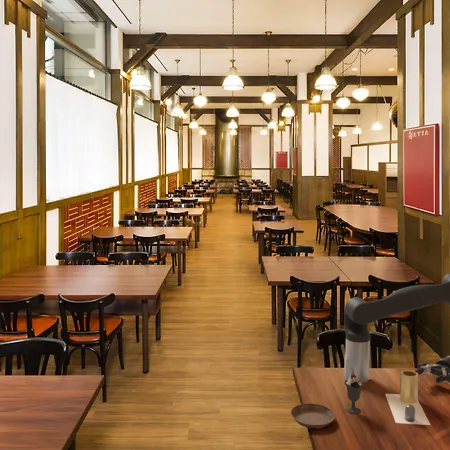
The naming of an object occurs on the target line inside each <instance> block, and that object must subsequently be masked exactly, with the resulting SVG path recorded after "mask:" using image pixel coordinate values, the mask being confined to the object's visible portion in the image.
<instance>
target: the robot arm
mask: <svg viewBox="0 0 450 450" xmlns="http://www.w3.org/2000/svg"><path fill="white" fill-rule="evenodd" d="M443 302H448V304H449V305H448V306H450V272H447V274H445V275H444V276H443V278H442V281H441V283H439V284H419V285H418V284H416V285H410V286H406V287H402V288H399V289H397V290H395V291H393V292H392V293H391V294H389V295H388V296H386V297H384V298H382V299H377V300H374V301H366V300H364V299H363V298H361V297H358V296H357V297H351V298H350V299H348V300H347V302H345V305H344V312H343V313H344V314H343V315H344V318H343V319H344V321H343V322H344V324H343V325H344V331H345V354H344V364H343V365H344V368H343V369H344V371H343V378H344V381H345V380H349V378H350V377H351V374H353V371H354V374H355V376H356V377H357V378H358V380H359V381H361V382H362V383H363V384H364V383H367V382H368V381H369V378H370V377H369V376H370V375H369V374H370V372H369V371H370V348H371V347H370V345H371V335H370V331H369V329H368V328H369V327H368V325H369V324H371V323H373V322H376V321H379V320H382V319H384V318H387V317H391V316H396V315H399V314H403V313H407V312H412V311H414V310H415V311H416V310H419V309H421V308H425V307H426V308H427V307H430V306H433V305H436V304H440V303H443ZM352 368H353V370H352ZM414 372H417V373H418V376H420V375H422V374H427V375H429V376H430V375H432V376H433V375H434V376H436V378H435V383H437V384H440V383H443V382H448V383H450V355H448V356H445V357H443V358H440V359H438V360H437V361H436V362H435V363H434V364H429V361H424V362H421V363H418V364H417V368H416V369H415V370H414Z"/></svg>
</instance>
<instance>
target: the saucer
mask: <svg viewBox="0 0 450 450" xmlns="http://www.w3.org/2000/svg"><path fill="white" fill-rule="evenodd" d="M290 415H291V417H292V418H293V420H294V421H295V422H296V423H298V424H299V425H300V426H302V427H305V428H308V429H314V428H316V429H323V428H325V427H328V426H329V425H330V424H331V423H332V422H333V421H334V420H335V417H336V415H335V412H334V411H333V410H332V409H331V408H329V407H328V406H325V405H322V404H320V403H311V402H309V403H307V402H306V403H300V404H297V405H295V406H294V407H292V408H291V410H290Z"/></svg>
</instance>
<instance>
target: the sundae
mask: <svg viewBox="0 0 450 450" xmlns="http://www.w3.org/2000/svg"><path fill="white" fill-rule="evenodd" d="M352 370H353V368H352ZM343 384H344V386H345V387H346V395H347V399H349V401H350V402H351V406H348V407H346V409H345V410H346V412H347V413H348V414H352V415H357V414H359V413H361V410H360V408H359V407H356V403H357V402H358V401H359V400H360V397H361V394H362V393H361V391H362V388H363V387H364V386H365V384H364V383H362V382H361V381H359V380H358V378H357V377H356V376H355V374H354V371H353V374H351V377H350V378H349V380H345V379H344V382H343Z"/></svg>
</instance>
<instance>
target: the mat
mask: <svg viewBox="0 0 450 450" xmlns="http://www.w3.org/2000/svg"><path fill="white" fill-rule="evenodd" d="M385 398H386V400H387V403H388V406H389V407H390V411H391V413H392V417H393V420H394V422H395V424H406V425H423V426H431V423H430V421H429V419H428V417H427V415H426V413H425V412H424V409H423V407H422V406H421V403H420V401H419V400H418V398H417V402H416V403H414V404H409V403H404V402H402V401H401V400H400V399H399V394H396V393H385ZM407 405H413V406H414V408H415V421H413V422H409V421H406V420H405V407H406V406H407Z"/></svg>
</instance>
